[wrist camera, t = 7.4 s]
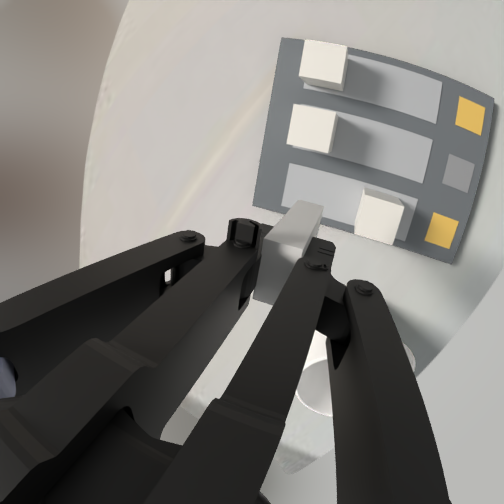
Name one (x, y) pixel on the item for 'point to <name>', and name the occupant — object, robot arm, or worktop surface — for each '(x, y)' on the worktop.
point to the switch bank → (380, 147)
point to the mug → (322, 377)
